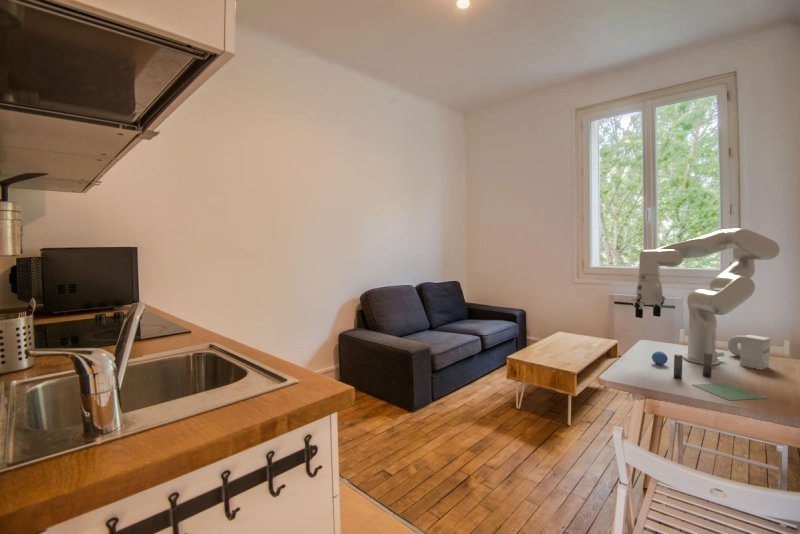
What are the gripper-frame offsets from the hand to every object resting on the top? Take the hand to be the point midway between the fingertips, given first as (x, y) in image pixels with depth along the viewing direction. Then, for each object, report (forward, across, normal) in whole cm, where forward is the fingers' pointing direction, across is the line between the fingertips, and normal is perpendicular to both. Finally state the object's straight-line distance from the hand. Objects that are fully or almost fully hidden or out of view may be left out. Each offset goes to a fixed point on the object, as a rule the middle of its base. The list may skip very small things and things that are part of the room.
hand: (647, 316), depth 168 cm
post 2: (+20, +5, -22) cm, 30 cm away
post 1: (+20, -8, -21) cm, 29 cm away
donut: (+20, +45, -8) cm, 50 cm away
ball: (+17, +1, -6) cm, 18 cm away
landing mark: (+20, -3, -35) cm, 41 cm away
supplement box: (+20, +36, -18) cm, 45 cm away
